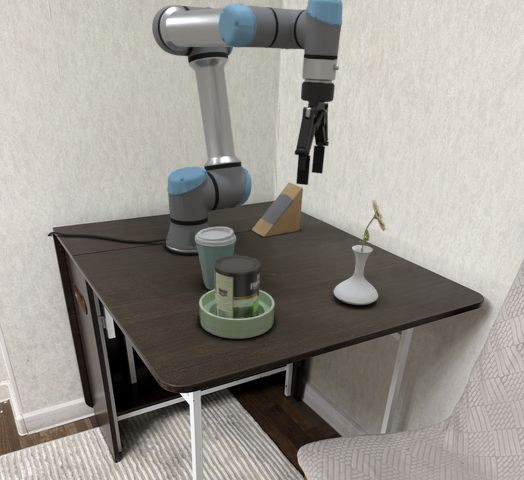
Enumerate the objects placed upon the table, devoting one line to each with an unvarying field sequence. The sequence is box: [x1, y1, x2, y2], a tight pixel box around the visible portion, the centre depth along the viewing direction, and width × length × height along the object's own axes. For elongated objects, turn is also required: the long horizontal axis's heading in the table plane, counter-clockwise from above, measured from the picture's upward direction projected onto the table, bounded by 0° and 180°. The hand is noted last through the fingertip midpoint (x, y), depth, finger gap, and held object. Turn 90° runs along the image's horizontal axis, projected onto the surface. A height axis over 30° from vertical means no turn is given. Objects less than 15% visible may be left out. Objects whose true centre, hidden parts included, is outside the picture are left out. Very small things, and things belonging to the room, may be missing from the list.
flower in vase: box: [333, 199, 387, 306], centre depth 118 cm, size 13×11×25 cm
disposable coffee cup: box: [195, 226, 237, 291], centre depth 125 cm, size 11×11×15 cm
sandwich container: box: [251, 181, 304, 238], centre depth 166 cm, size 9×15×15 cm, turn 122°
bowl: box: [198, 289, 276, 339], centre depth 111 cm, size 17×17×5 cm
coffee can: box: [214, 254, 262, 319], centre depth 109 cm, size 10×10×14 cm
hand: (309, 178), depth 120 cm, fingers open, 13 cm apart
